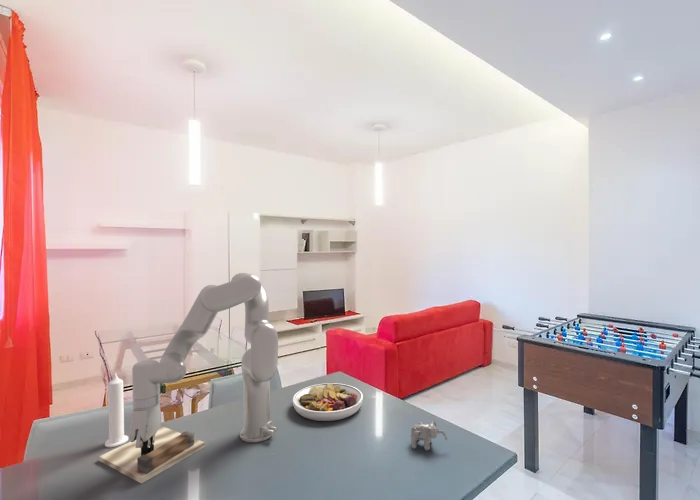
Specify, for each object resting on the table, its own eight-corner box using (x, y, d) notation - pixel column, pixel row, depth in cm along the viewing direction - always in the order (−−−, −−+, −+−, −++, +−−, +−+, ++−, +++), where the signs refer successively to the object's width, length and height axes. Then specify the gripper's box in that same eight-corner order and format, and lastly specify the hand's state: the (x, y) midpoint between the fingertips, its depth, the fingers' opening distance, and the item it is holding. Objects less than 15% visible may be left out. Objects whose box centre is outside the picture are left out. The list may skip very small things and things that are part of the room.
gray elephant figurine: (409, 439, 127) (408, 417, 127) (443, 437, 126) (442, 416, 126) (413, 454, 117) (411, 431, 117) (449, 452, 117) (447, 429, 117)
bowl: (278, 412, 149) (277, 393, 149) (323, 388, 174) (322, 372, 174) (334, 432, 132) (334, 411, 132) (376, 403, 157) (375, 385, 157)
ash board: (205, 446, 123) (205, 442, 123) (141, 483, 104) (141, 478, 104) (163, 430, 135) (163, 426, 135) (99, 460, 116) (99, 456, 116)
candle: (116, 448, 123) (115, 376, 123) (99, 446, 125) (98, 375, 125) (133, 437, 130) (131, 369, 130) (116, 436, 131) (115, 368, 131)
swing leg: (188, 439, 125) (187, 428, 125) (197, 442, 123) (197, 431, 123) (137, 470, 108) (136, 457, 108) (146, 473, 106) (146, 461, 106)
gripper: (147, 391, 121) (148, 445, 121) (119, 411, 106) (120, 473, 106) (170, 390, 121) (171, 444, 121) (145, 410, 106) (146, 472, 106)
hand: (147, 457), depth 113 cm, fingers closed
